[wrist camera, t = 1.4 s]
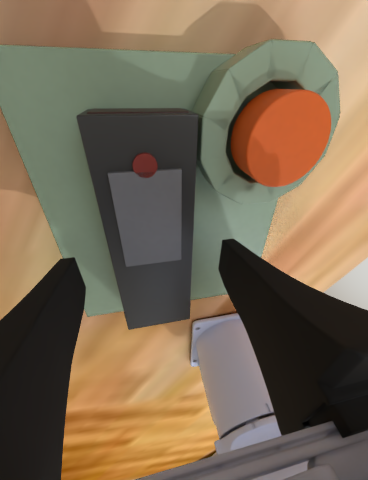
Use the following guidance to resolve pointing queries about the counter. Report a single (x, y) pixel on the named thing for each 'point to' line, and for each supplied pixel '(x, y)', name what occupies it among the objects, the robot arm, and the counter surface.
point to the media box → (151, 96)
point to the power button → (281, 135)
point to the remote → (146, 204)
